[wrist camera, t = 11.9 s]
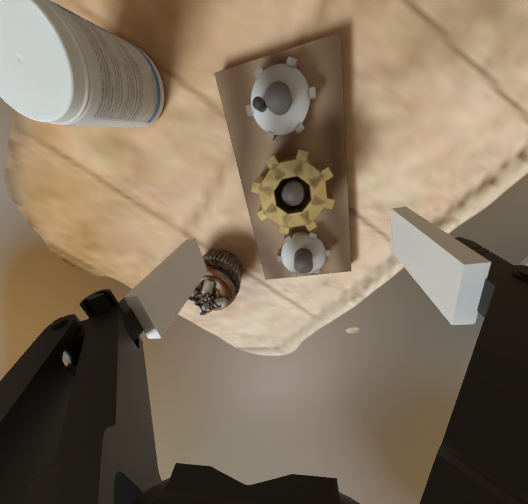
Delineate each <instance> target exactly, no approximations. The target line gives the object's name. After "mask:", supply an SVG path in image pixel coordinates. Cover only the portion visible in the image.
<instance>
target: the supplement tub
mask: <svg viewBox="0 0 528 504" xmlns="http://www.w3.org/2000/svg"><path fill="white" fill-rule="evenodd" d="M0 97H2V99H3V100H4V101H5V102H6V103H8V104H9V105H10V106H11V107H12V108H14V109H15V110H16V111H18V112H19V113H21V114H22V115H24V116H26V117H28V118H30V119H33V120H36V121H41V122H49V123H53V124H62V125H82V126H106V127H133V128H142V127H147V126H149V125H151V124H153V123H154V122H155V121H156V120H157V119H158V117H159V116H160V114H161V112H162V109H163V105H164V87H163V83H162V79H161V76H160V74H159V72H158V70H157V68H156V66H155V65H154V63H153V62H152V60H151V59H150V58H149V57H148V56H147V55H146V54H145V53H144V52H143V51H142V50H141V49H139V48H138V47H136V46H134V45H133V44H131V43H129V42H127V41H125V40H123V39H121V38H120V37H118V36H116V35H114V34H112V33H110V32H108V31H106V30H105V29H103V28H101V27H99V26H97V25H95V24H93V23H91V22H90V21H88V20H86V19H84V18H82V17H80V16H78V15H76V14H74V13H73V12H71V11H69V10H67V9H65V8H63V7H61V6H59V5H58V4H56V3H54V2H52V1H50V0H0Z"/></svg>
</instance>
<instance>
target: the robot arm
mask: <svg viewBox="0 0 528 504" xmlns="http://www.w3.org/2000/svg"><path fill="white" fill-rule="evenodd" d="M390 250H391V251H392V252H393V253H394V255H395V256H396V257H397V258H398V260H399V261H400V262H401V263H402V265H403V266H404V267H405V268H406V269H407V271H408V272H409V273H410V274H411V276H412V277H413V278H414V279H415V280H416V282H417V283H418V284H419V285H420V287H421V288H422V289H423V290H424V292H425V293H426V294H427V295H428V296H429V298H430V299H431V300H432V301H433V303H434V304H435V305H436V306H437V308H438V309H439V310H440V311H441V312H442V313H443V315H444V316H445V317H446V318H447V320H448V321H449V322H450V323H451V325H462V324H475V321H476V317H477V313H478V312H479V313H480V314H481V315H482V316H484V318H485V319H484V322H483V325H482V327H481V330H480V333H479V336H478V339H477V342H476V345H475V348H474V351H473V354H472V357H471V360H470V362H469V366H468V368H467V371H466V374H465V377H464V380H463V383H462V386H461V389H460V392H459V395H458V398H457V400H456V404H455V406H454V409H453V412H452V415H451V418H450V421H449V424H448V427H447V430H446V433H445V436H444V438H443V441H442V444H441V446H440V448H439V450H438V453H437V456H436V459H435V461H434V464H433V467H432V470H431V473H430V475H429V478H428V481H427V484H426V487H425V491H424V493H423V496H422V499H421V501H420V504H528V266H525V265H512V264H510V263H509V262H507V261H505V260H504V259H502V258H500V257H499V256H497V255H495V254H494V253H492V252H491V253H490V251H488V250H487V249H485V248H482V246H480V245H478V244H477V243H475V242H474V241H471V240H467V239H464V238H461V237H458V238H453V237H452V236H450V235H449V234H447V233H446V232H444V231H443V230H441V229H439V228H438V227H436V226H435V225H433V224H432V223H430V222H429V221H427V220H426V219H424V218H423V217H421V216H419V215H418V214H416V213H415V212H413V211H412V210H410V209H409V208H407V207H400V208H393V209H392V213H391V238H390ZM206 272H207V268H206V265H205V262H204V260H203V257H202V254H201V252H200V249H199V246H198V244H197V241H196V239H190V240H186V241H185V242H184V243H182V244H181V245H180V246H179V247H178V248H177V249H176V250H175V251H174V252H173V253H172V254H170V255H169V256H168V257H167V258H166V259H165V260H164V261H163V262H162V263H161V264H160V265H158V266H157V267H156V268H155V269H154V270H153V271H152V272H151V273H150V274H149V275H148V276H146V277H145V278H144V279H143V280H142V281H141V282H140V283H139V284H138V285H137V286H136V287H134V288H133V289H132V290H131V291H130V292H129V293H128V294H127V295H126V296H125V297H124V298H123V299H122V300H121V301H120V302H119V303H118V301H117V300H116V298H115V297H114V295H113V294H112V292H111V290H110V289H104V290H100V291H98V292H95V293H93V294H91V295H89V296H88V297H86V298H85V299H84V300H83V301H81V303H80V306H81V307H82V309H83V310H84V311H85V313H86V314H87V315H88V317H89V319H87V320H84V321H79V319H78V318H77V316H76V315H73V314H71V315H67V316H65V317H61V318H59V319H57V320H55V321H54V322H53V323H52V324H50V325H49V326H48V327H47V328H45V330H44V331H43V332H42V333H41V334H40V335H39V336H38V338H37V339H36V340H35V341H34V342H33V343H32V345H31V346H30V347H29V348H28V349H27V351H26V352H25V353H24V354H23V355H22V356H21V357H20V359H19V360H18V361H17V362H16V363H15V364H14V366H13V367H12V368H11V369H10V370H9V371H8V373H7V374H6V375H5V376H4V377H3V379H2V380H1V381H0V504H359V503H358V502H356V501H355V500H353V499H352V498H350V497H348V496H346V495H344V494H341V493H340V492H339V491H338V485H337V478H327V477H317V476H306V475H296V474H291V475H287V476H283V477H280V478H276V479H272V480H269V481H265V482H261V483H257V484H253V485H245V484H243V483H241V482H239V481H237V480H235V479H233V478H231V477H229V476H228V475H226V474H224V473H222V472H220V471H218V470H216V469H214V468H212V467H211V466H200V465H191V464H180V463H176V464H175V467H174V469H173V472H172V475H171V477H170V478H168V479H166V480H164V481H162V480H161V478H160V475H159V471H158V466H157V458H156V449H155V441H154V433H153V424H152V417H151V408H150V401H149V392H148V384H147V375H146V368H145V359H144V351H143V342H142V340H141V338H140V337H139V335H140V334H141V333H142V332H143V330H144V332H145V333H146V335H147V337H148V338H149V339H152V338H162V336H163V335H164V333H165V332H166V330H167V329H168V328H169V326H170V325H171V323H172V322H173V320H174V319H175V317H176V316H177V314H178V313H179V311H180V310H181V308H182V307H183V306H184V304H185V303H186V301H187V300H188V298H189V297H190V295H191V294H192V292H193V291H194V289H195V288H196V287H197V285H198V284H199V282H200V281H201V279H202V278H203V276H204V275H205V273H206ZM62 356H63V357H64V358H65V359H66V360H67V361H68V365H67V367H66V366H65V365H64V363H63V361H62Z"/></svg>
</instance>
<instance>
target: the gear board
mask: <svg viewBox="0 0 528 504" xmlns="http://www.w3.org/2000/svg"><path fill="white" fill-rule="evenodd" d="M215 77H216V81H217V85H218V89H219V93H220V97H221V101H222V106H223V110H224V114H225V118H226V122H227V126H228V130H229V134H230V138H231V142H232V146H233V150H234V154H235V158H236V162H237V166H238V170H239V174H240V178H241V183H242V187H243V191H244V195H245V199H246V203H247V207H248V211H249V215H250V219H251V223H252V227H253V231H254V235H255V239H256V243H257V247H258V251H259V255H260V260H261V264H262V268H263V272H264V276H265V280H267V279H277V278H287V277H297V276H307V275H318V274H327V273H337V272H347V271H351V252H350V230H349V208H348V185H347V163H346V141H345V119H344V97H343V75H342V53H341V32H339V33H336V34H333V35H330V36H327V37H324V38H321V39H318V40H315V41H312V42H308V43H305V44H302V45H299V46H296V47H293V48H290V49H287V50H284V51H281V52H278V53H275V54H271V55H268V56H265V57H262V58H259V59H256V60H253V61H250V62H247V63H244V64H241V65H238V66H235V67H231V68H228V69H225V70H222V71H219V72H216V73H215ZM298 148H302V149H307V150H308V152H309V153H308V157H307V159H308V160H309V161H310V162H312V163H313V164H314V165H316V166H318V165H319V164H321V163H322V162H324V163H325V164H326V165H327V166H328V167H329V169H330V171H331V173H332V174H333V177H331V178H330V179H328V180H327V181H325V183H326V189H328V190H330V192H331V194H332V196H333V197H334V199H335V202H334V205H333V208H332V209H327V208H323V209H322V211H321V212H320V213H319V214H318V215H317V217H316V218H315V219H316V224H317V227H316V228H314V229H312V230H311V231H308V229H307V228H306V226H305V225H302V226H296V227H289V231H288V234H284V233H279V230H280V225H279V224H278V223H276V222H275V221H273V220H272V219H270V218H269V217H267V218H265V219H264V220H262V221H261V219H260V218H259V216H258V215H257V214H256V213H257V211H258V209H259V208H260V206H261V199H260V195H259V193H254V192H251V191H252V184H253V181H254V180H256V179H257V178H258V177H259V176H260V175H263V176H266V175H267V173H268V172H269V170H270V169H269V167H268V165H267V164H266V162H265V161H267V160H268V159H269V158H271V157H272V156H274V155H275V154H276V153H279V155H280V156H281V158H282V159H284V158H288V157H293V156H296V155H297V151H298ZM278 188H279V194H280V196H282V199H283V201H284V203H286V204H287V205H289V206H296V205H298V204H300V203H301V202H302V200H303V198H304V196H305V195H306V194H307V192H308V191H309V184H308V183H306V182H305V181H304V180H302V179H301V178H299V177H298V176H295V177H290V178H285V179H282V180H281V181H280V183H279V184H278Z"/></svg>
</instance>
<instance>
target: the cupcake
mask: <svg viewBox="0 0 528 504" xmlns="http://www.w3.org/2000/svg"><path fill="white" fill-rule="evenodd" d="M203 260H204V262H205V265H206V268H207V272H206V273H205V275H204V276H203V278H202V279H201V281H200V282H199V284H198V285H197V287H196V288H195V289H194V291H193V292H192V294H191V295H190V297H189V298H188V299H189V300H191V301H194V302H195V305H197V306H199V308H198V311H199V313H200V315H205V314H207V313H209V312H211V311H212V310H214V311H216V310H221V309H223V308H225V307H226V306H228V305H230V304H231V303H232V302H233V301H234V299H235V297H236V295H237V294H238V292H239V289H240V283H241V264H240V261H239V260H238V259H237V258H236V256H235V255H234V254H232V253H230V252H229V251H225V250H220V249H218V250H212V251H210V252H208V253H207V254H206V255H204V256H203Z"/></svg>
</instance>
